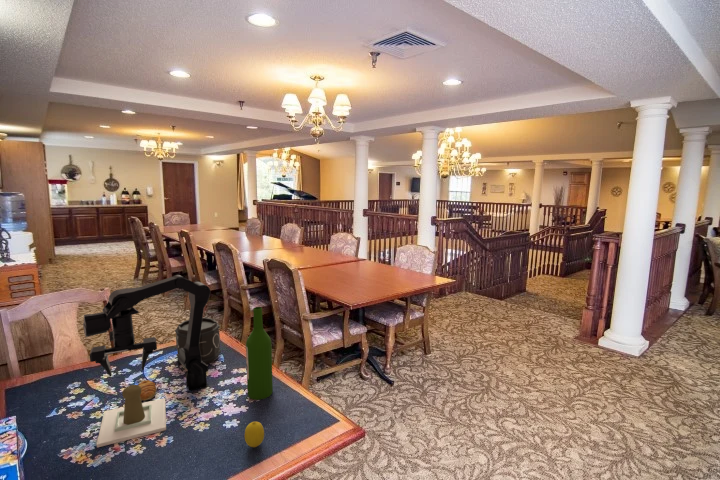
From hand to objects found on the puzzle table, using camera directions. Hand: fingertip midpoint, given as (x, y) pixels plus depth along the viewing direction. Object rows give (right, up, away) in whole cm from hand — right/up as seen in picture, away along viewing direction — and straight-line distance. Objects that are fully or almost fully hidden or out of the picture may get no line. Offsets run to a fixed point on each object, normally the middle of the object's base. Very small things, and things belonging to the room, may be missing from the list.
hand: (127, 372), depth 129 cm
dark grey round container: (+8, -7, +39) cm, 41 cm away
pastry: (+1, -12, +11) cm, 16 cm away
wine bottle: (+42, -12, +12) cm, 45 cm away
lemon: (+47, -16, -16) cm, 53 cm away
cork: (+6, -13, -5) cm, 15 cm away
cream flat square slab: (+6, -14, -5) cm, 16 cm away
